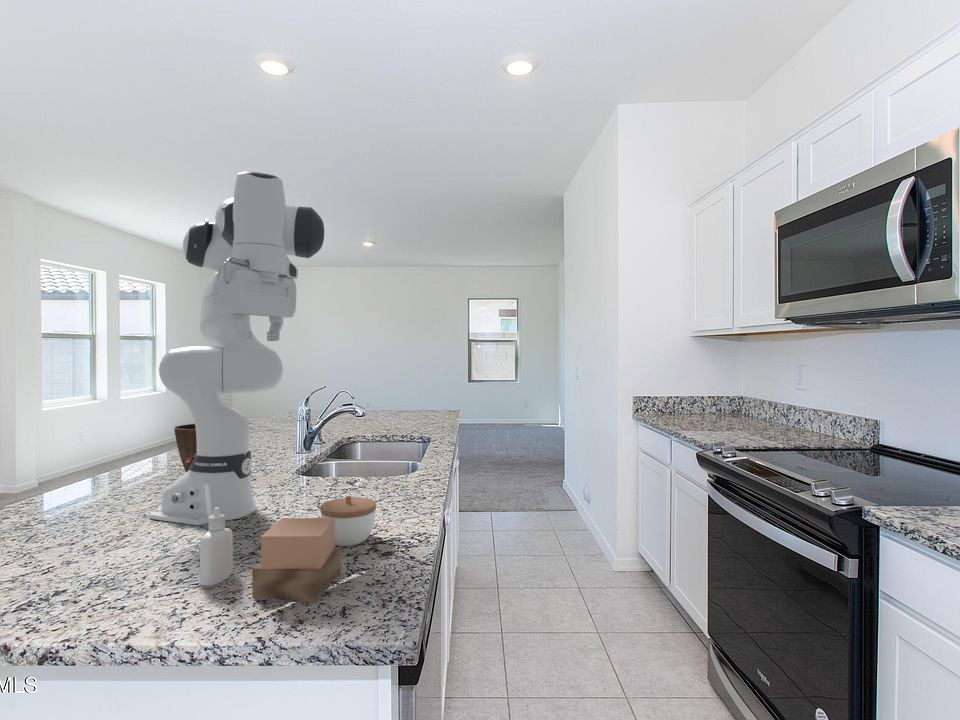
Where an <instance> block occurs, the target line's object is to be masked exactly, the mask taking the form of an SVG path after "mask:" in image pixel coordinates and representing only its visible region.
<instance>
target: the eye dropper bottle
mask: <svg viewBox="0 0 960 720" xmlns="http://www.w3.org/2000/svg"><path fill="white" fill-rule="evenodd" d="M233 573H234V536H233V531H232V530H231V529H230V528H228V527H226V520H225V515H223V514H221V513H220V509H219V507H217V508H214V513H213V515H211V516H210V517H209V523H208V531H207V532H206V533H205V534H203V536H202V537H201V539H200V541H199V585H200V586H202V587H203V586H205V587H212V586H215V585H218V584H220V583H222V582H224V581H225V580H227V579H228V578H230V577H231V576H232V575H233Z"/></svg>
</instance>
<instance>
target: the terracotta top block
mask: <svg viewBox="0 0 960 720" xmlns="http://www.w3.org/2000/svg"><path fill="white" fill-rule="evenodd" d="M334 548H336V545H335V518H321V517H290V518H289V517H285V518H284V517H282V518H280V519H279V520H278V521H277V522H276V523H275V524H273V525H272V526H271V527H270V528H269V529H268V530H266V531H265V532H264V533H263V534H262V535H261V536H260V563H261V569H321V567H322V566H323V565H324V563H325V562H326V560H327V559H328V557H329V556H330V554H331V553H332V551H333V550H334Z"/></svg>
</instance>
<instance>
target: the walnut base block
mask: <svg viewBox="0 0 960 720" xmlns="http://www.w3.org/2000/svg"><path fill="white" fill-rule="evenodd" d="M340 573H341V548H340V547H335V548H334V550H333V551H332V553H331V554H330V556H329V557H328V559H327V560H326V562H325V563H324V565H323V566H322V567H321V569H261V562H259V563H257V565H255V566H254V567H252V585H251V586H252V588H251V589H252V591H251V592H252V593H251V594H252V595H251V596H252V598H258V599H260V598H262V599H275V600H276V599H277V600H292V601H290V602H292V603H305V604H316V603H317V601H318V600H320V598H321V597H322V596H323V595H324V594H325V593H326V591H328V589H329V588H330V587H331V586H332V584H333V583H332V582H333V581H334V580H335V579H336V577H337V576H338V575H339V574H340Z"/></svg>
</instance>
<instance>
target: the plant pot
mask: <svg viewBox="0 0 960 720" xmlns="http://www.w3.org/2000/svg"><path fill="white" fill-rule="evenodd" d="M173 430H174V437H175V441H176V446H177V451H178V454H179V457H180V461H181V463H182V467H183V469H184V471H185V473H186V472H188V471H189V470H190V469H189V468H190V466H191V463H192V462H190V463H185V462H187V461H189V459H187V460H185V459H186V458H190V457H192V456H193V455H195V454H197V438H196V427H195V423H192V424H191V423H189V424H188V423H187V424H182V425H176V426H174V427H173Z"/></svg>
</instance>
